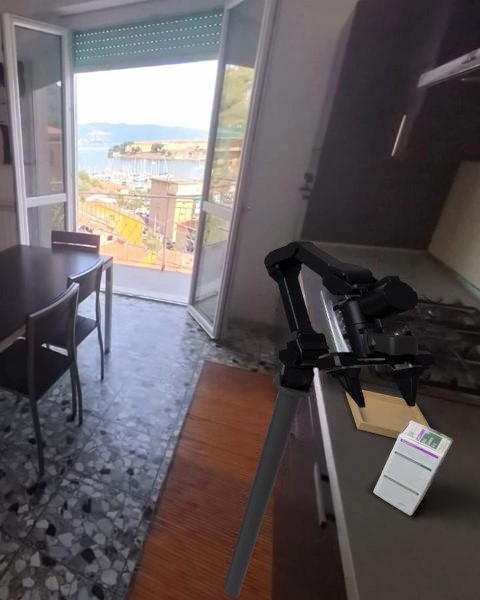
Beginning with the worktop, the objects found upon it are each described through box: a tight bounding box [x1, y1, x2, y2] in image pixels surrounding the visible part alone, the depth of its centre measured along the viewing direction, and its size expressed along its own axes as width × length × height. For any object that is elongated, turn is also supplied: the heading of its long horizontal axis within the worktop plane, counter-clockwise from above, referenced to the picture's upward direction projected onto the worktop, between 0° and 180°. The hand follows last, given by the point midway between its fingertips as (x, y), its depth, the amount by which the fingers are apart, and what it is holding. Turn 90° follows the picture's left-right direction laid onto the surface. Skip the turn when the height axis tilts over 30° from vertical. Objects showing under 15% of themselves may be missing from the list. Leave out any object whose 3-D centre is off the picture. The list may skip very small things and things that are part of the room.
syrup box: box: [372, 420, 454, 517], centre depth 61 cm, size 6×6×14 cm
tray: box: [345, 389, 431, 440], centre depth 81 cm, size 13×13×2 cm
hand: (387, 407), depth 66 cm, fingers open, 9 cm apart
